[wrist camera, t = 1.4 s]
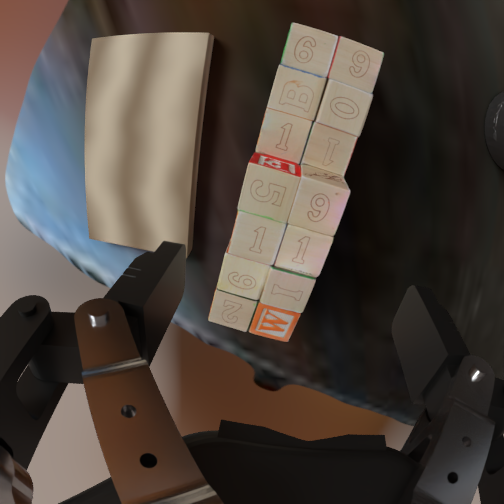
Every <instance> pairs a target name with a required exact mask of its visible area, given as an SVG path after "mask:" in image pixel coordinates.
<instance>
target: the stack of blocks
mask: <svg viewBox="0 0 504 504" xmlns="http://www.w3.org/2000/svg"><path fill="white" fill-rule="evenodd" d="M383 57H384V53H383V52H380V51H378V50H376V49H373V48H371V47H368V46H366V45H363V44H360V43H358V42H355V41H353V40H350V39H347V38H344V37H339V36H336V35H333V34H330V33H327V32H324V31H321V30H318V29H314V28H311V27H308V26H304V25H301V24H297V23H292V24H291V27H290V31H289V34H288V37H287V41H286V45H285V48H284V51H283V55H282V59H281V63H280V65H279V67H278V70H277V73H276V77H275V81H274V84H273V88H272V91H271V95H270V98H269V102H268V106H267V109H266V112H265V116H264V119H263V123H262V127H261V131H260V135H259V139H258V142H257V146H256V152H255V153H254V154H253V156H252V157H251V159H250V161H249V163H248V167H247V171H246V175H245V179H244V183H243V187H242V191H241V195H240V199H239V203H238V207H237V208H238V213H237V217H236V221H235V225H234V229H233V233H232V237H231V240H230V242H229V245H228V247H227V250H226V253H225V256H224V260H223V264H222V268H221V272H220V276H219V280H218V284H217V288H216V291H215V294H214V298H213V302H212V306H211V310H210V314H209V318H208V320H209V321H211V322H214V323H218V324H221V325H224V326H228V327H231V328H234V329H238V330H241V331H244V332H246V331H248V330H249V332H250V333H253V334H256V335H260V336H264V337H268V338H272V339H276V340H280V341H285V342H288V340H289V338H290V336H291V334H292V332H293V330H294V328H295V326H296V323H297V321H298V319H299V317H300V314H301V313H302V312H303V311H304V308H305V306H306V304H307V301H308V299H309V296H310V294H311V292H312V289H313V287H314V284H315V282H316V277H317V276H319V275H320V273H321V270H322V268H323V265H324V263H325V260H326V258H327V255H328V253H329V250H330V248H331V245H332V243H333V238H334V235H335V233H336V231H337V228H338V226H339V223H340V220H341V217H342V215H343V212H344V210H345V207H346V204H347V201H348V198H349V196H350V192H351V191H350V189H349V187H348V185H347V183H346V181H345V179H344V176H345V173H346V170H347V167H348V165H349V162H350V159H351V156H352V153H353V151H354V148H355V145H356V142H357V139H358V137H359V136H360V134H361V132H362V129H363V126H364V123H365V120H366V117H367V114H368V111H369V108H370V105H371V102H372V99H373V94H372V92H373V89H374V86H375V83H376V80H377V77H378V73H379V70H380V67H381V64H382V60H383Z"/></svg>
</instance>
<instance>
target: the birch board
mask: <svg viewBox="0 0 504 504" xmlns="http://www.w3.org/2000/svg"><path fill="white" fill-rule="evenodd" d="M213 43H214V36H212V35H211V34H210V33H146V34H131V35H119V36H110V37H101V38H94V39H92V44H91V52H90V61H89V70H88V81H87V95H86V113H85V183H86V202H87V216H88V228H89V238H90V239H94V240H99V241H104V242H109V243H114V244H119V245H124V246H129V247H134V248H139V249H144V250H149V251H154V252H155V251H156V250H157V248H158V247H159V246H160V244H161V243H162V242H163V241H169V242H174V243H180V244H185V246H186V258H187V257H188V255H189V254H190V252H191V250H192V246H193V230H194V215H195V201H196V188H197V177H198V165H199V155H200V145H201V135H202V126H203V117H204V109H205V100H206V92H207V85H208V77H209V70H210V63H211V56H212V49H213Z"/></svg>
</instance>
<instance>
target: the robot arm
mask: <svg viewBox="0 0 504 504" xmlns="http://www.w3.org/2000/svg"><path fill="white" fill-rule="evenodd" d="M485 138H486V143H487V147H488V150H489V152H490V154H491V156H492V158H493V160H494V161H495V162H496V164H497V165H498V166H499V167H501V168H502V169H503V170H504V92H501V93H500V94H498V95H497V96H496V97H495V98H494V99H493V100H492V102H491V104H490V106H489V108H488V110H487V114H486V119H485ZM185 265H186V246H185V244H180V243H174V242H169V241H163V242H162V243H161V244H160V246H159V247H158V248H157V250H156V251H155V252H154V253H150V252H146V253H144V254H142V255H140V256H139V257H137V258H135V259H134V261H133V262H132V263H131V264H130V265H129V268H127V269H126V270H125V272H124V273H123V275H121V276H120V278H119V279H118V280H117V281H116V283H115V284H114V285H113V286H112V288H111V289H110V290H109V291H108V293H107V294H106V295H105V297H104V298H98V299H92V300H89V301H87V302H85V303H83V304H82V305H80V306H79V307H78V309H77V310H76V312H75V313H68V312H51V309H50V306H49V303H48V301H47V300H46V299H45V298H43V297H41V296H36V295H30V296H25V297H23V298H20V299H18V300H16V301H15V302H14V303H13V304H12V305H11V306H10V307H9V308H8V309H7V310H6V312H5V313H4V314H3V315H2V316H1V317H0V504H32V498H33V482H32V479H31V477H30V475H29V473H28V472H27V468H28V466H29V464H30V461H31V459H32V457H33V454H34V452H35V450H36V448H37V445H38V443H39V441H40V439H41V437H42V435H43V433H44V431H45V429H46V426H47V424H48V422H49V420H50V418H51V416H52V414H53V412H54V410H55V408H56V406H57V404H58V402H59V400H60V398H61V396H62V394H63V392H64V390H65V389H66V387H67V385H68V383H77V384H84V388H85V392H86V396H87V400H88V404H89V408H90V412H91V416H92V419H93V422H94V426H95V430H96V433H97V436H98V440H99V443H100V446H101V449H102V452H103V455H104V458H105V461H106V464H107V467H108V470H109V473H110V475H111V477H110V478H108V479H106V480H104V481H103V482H101V483H99V484H97V485H95V486H93V487H91V488H89V489H87V490H85V491H83V492H81V493H79V494H77V495H75V496H73V497H71V498H70V499H67V500H65V501H63V502H61V503H58V504H471V502H472V500H473V497H474V494H475V492H476V489H477V486H478V488H479V494H480V501H481V504H504V437H503V434H504V380H501V379H498V378H495V375H494V372H493V370H492V368H491V367H490V365H489V364H488V363H487V362H486V361H485V360H483V359H482V358H480V357H477V356H474V355H470V353H469V351H468V349H467V347H466V345H465V343H464V341H463V339H462V337H461V335H460V333H459V332H458V331H457V328H456V326H455V324H453V320H452V318H451V317H450V315H449V313H448V312H447V311H446V310H445V309H444V308H443V307H442V306H441V305H440V304H439V302H438V301H437V299H436V297H435V295H434V294H433V292H432V290H431V289H430V288H426V287H420V286H414V285H412V286H410V287H409V288H408V289H407V291H406V294H405V296H404V298H403V300H402V302H401V305H400V307H399V309H398V311H397V313H396V315H395V317H394V320H393V323H392V336H393V339H394V342H395V346H396V349H397V352H398V355H399V359H400V362H401V365H402V369H403V372H404V376H405V379H406V383H407V387H408V390H409V394H410V398H411V401H412V404H425V405H426V408H425V409H424V410H423V412H422V413H421V415H420V416H419V418H418V420H417V422H416V424H415V426H414V428H413V430H412V432H411V433H410V435H409V437H408V439H407V440H406V442H405V444H404V446H403V448H402V449H401V450H400V451H398V450H395V449H392V448H390V447H386V441H385V435H349V434H348V435H344V436H338V437H333V438H327V439H320V440H315V441H305V440H301V439H298V438H295V437H292V436H288V435H286V434H283V433H280V432H277V431H274V430H271V429H269V428H266V427H262V426H255V425H249V424H243V423H237V422H232V421H226V420H221V423H220V427H219V431H205V432H198V433H193V434H189V435H186V436H183V437H182V436H181V435H180V433H179V431H178V429H177V427H176V425H175V423H174V421H173V419H172V417H171V415H170V412H169V410H168V408H167V406H166V404H165V402H164V400H163V397H162V395H161V394H160V391H159V389H158V386H157V384H156V382H155V380H154V377H153V375H152V373H151V370H150V368H149V366H150V364H151V362H152V360H153V357H154V356H155V353H156V351H157V349H158V347H159V345H160V343H161V340H162V339H163V336H164V334H165V332H166V330H167V328H168V326H169V324H170V322H171V320H172V318H173V316H174V313H175V311H176V309H177V307H178V305H179V303H180V301H181V299H182V296H183V292H184V286H185ZM27 365H28V366H27ZM26 366H27V368H26ZM25 368H26V369H25ZM24 369H25V371H24ZM23 371H24V372H23ZM22 373H23V374H22ZM21 374H22V375H21ZM20 376H21V377H20ZM19 377H20V379H19ZM18 379H19V381H18ZM17 381H18V382H17Z"/></svg>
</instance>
